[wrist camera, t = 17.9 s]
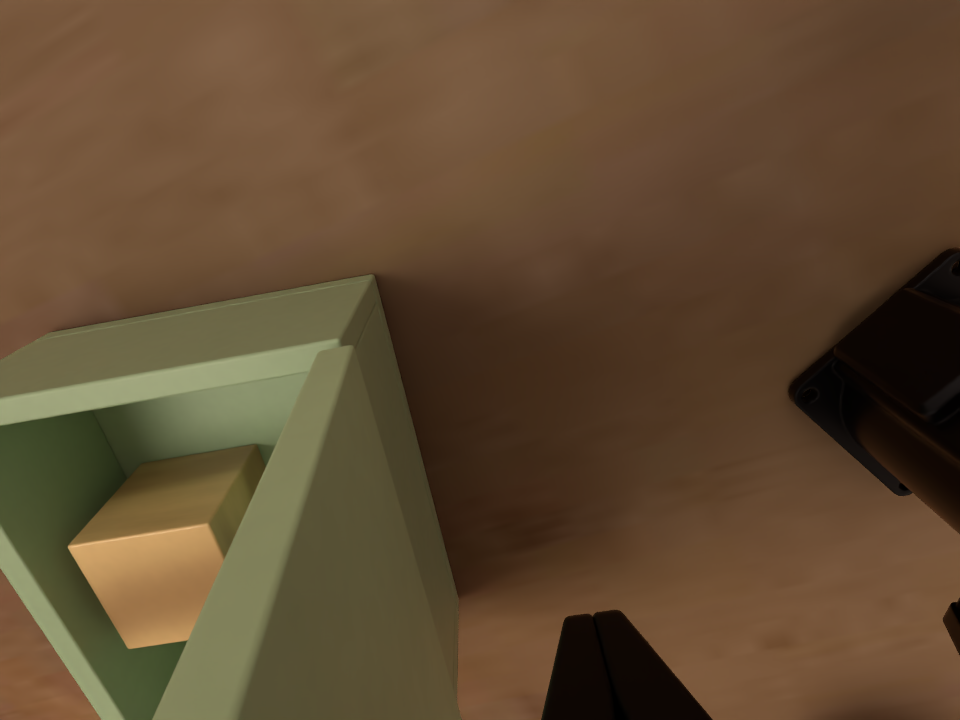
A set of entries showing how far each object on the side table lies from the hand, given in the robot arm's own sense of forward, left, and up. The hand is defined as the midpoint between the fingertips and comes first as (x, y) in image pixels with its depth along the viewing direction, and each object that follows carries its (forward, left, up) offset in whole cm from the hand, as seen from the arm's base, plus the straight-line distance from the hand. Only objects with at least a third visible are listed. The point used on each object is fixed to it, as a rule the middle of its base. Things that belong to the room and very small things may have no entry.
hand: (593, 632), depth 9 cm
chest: (+3, +9, -11) cm, 15 cm away
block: (+4, +11, -10) cm, 16 cm away
